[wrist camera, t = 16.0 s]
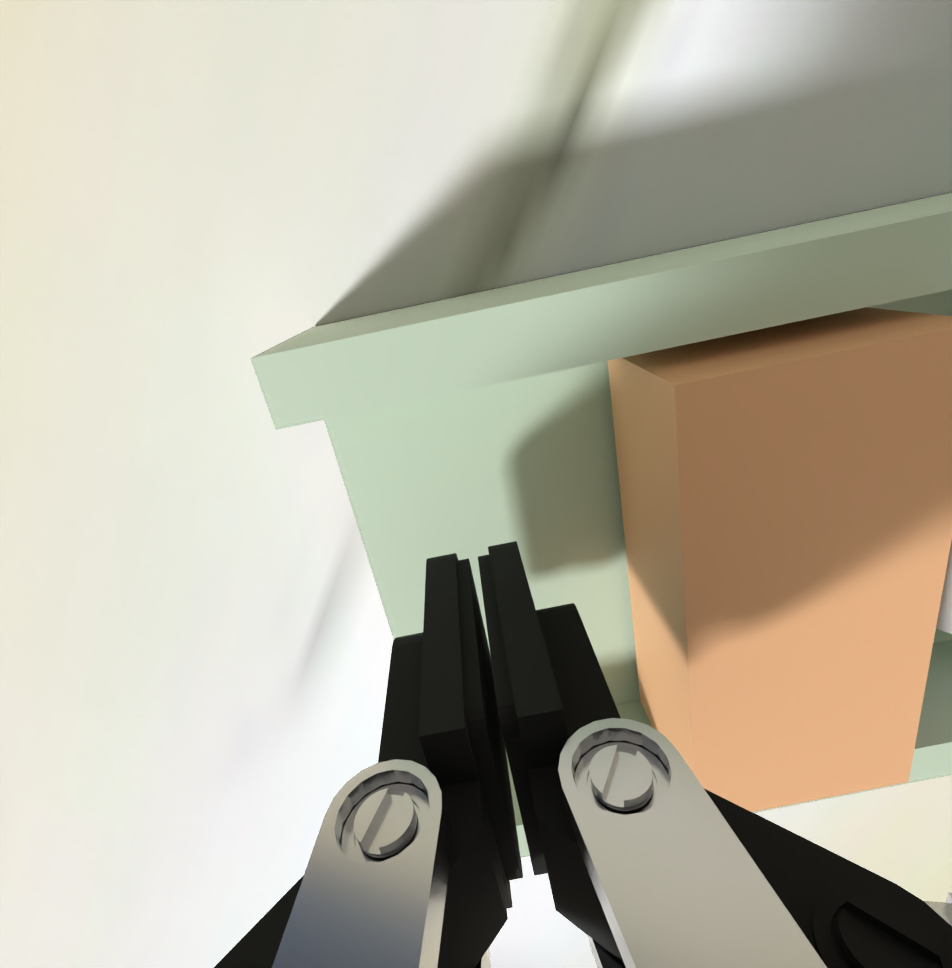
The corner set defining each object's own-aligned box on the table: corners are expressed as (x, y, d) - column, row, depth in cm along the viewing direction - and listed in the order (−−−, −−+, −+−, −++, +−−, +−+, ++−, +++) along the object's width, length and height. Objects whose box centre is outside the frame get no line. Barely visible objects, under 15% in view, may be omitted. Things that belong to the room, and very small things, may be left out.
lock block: (829, 303, 9) (990, 320, 7) (806, 668, 13) (908, 782, 10) (606, 350, 10) (674, 385, 7) (640, 701, 13) (695, 822, 10)
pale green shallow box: (1339, 111, 10) (1798, 33, 7) (1161, 589, 14) (1387, 691, 11) (312, 327, 10) (250, 358, 7) (435, 732, 15) (434, 873, 11)
